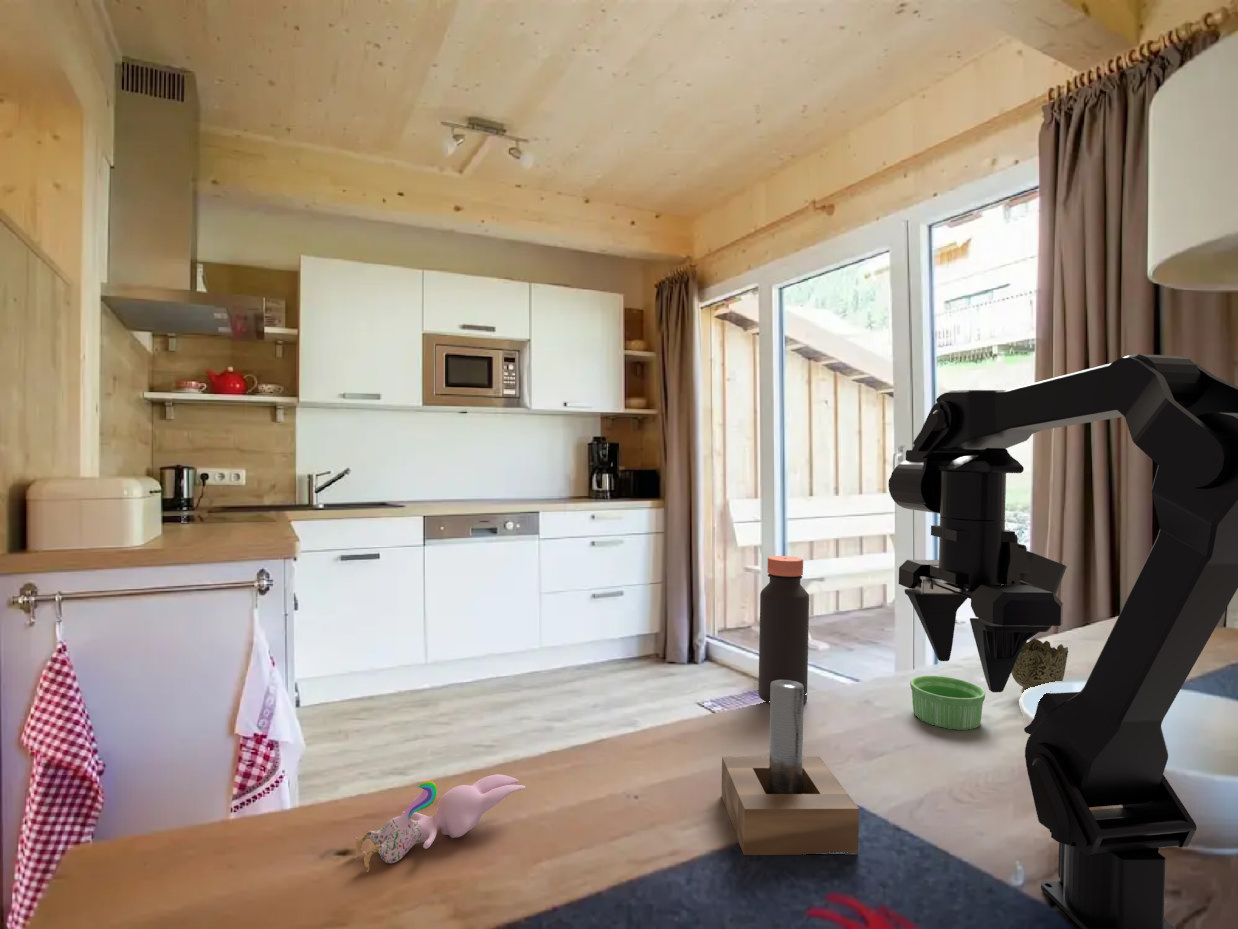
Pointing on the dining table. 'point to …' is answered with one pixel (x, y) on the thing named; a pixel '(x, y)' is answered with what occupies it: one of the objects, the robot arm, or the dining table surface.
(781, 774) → the steel rod
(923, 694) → the ramekin
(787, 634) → the bottle
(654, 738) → the dining table surface
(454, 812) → the rabbit figure
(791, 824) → the walnut square frame
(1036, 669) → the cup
